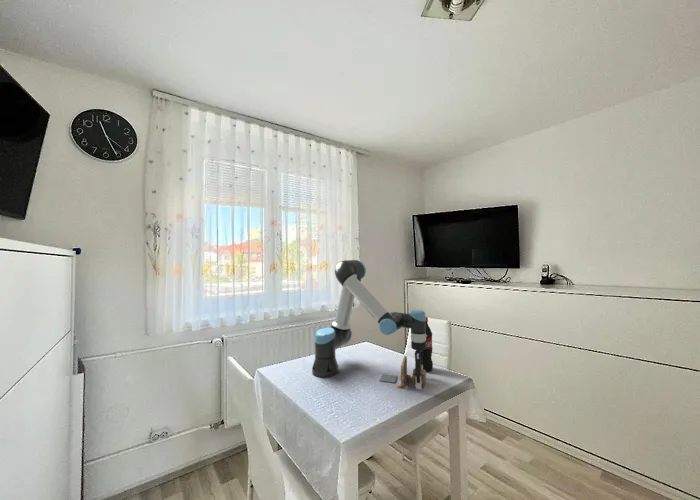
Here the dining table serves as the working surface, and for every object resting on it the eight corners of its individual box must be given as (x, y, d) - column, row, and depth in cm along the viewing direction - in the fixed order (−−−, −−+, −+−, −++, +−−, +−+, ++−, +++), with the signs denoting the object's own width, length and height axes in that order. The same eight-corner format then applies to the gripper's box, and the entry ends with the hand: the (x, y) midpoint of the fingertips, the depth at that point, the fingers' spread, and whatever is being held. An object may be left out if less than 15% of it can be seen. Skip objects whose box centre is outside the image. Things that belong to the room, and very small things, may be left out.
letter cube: (412, 385, 138) (412, 373, 139) (413, 379, 144) (413, 368, 144) (425, 386, 137) (424, 374, 137) (425, 381, 142) (425, 369, 142)
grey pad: (379, 381, 143) (379, 380, 143) (382, 374, 151) (382, 373, 151) (394, 383, 140) (394, 382, 140) (397, 376, 148) (397, 375, 148)
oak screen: (397, 387, 136) (397, 365, 136) (401, 375, 149) (400, 355, 149) (407, 388, 134) (407, 366, 135) (410, 376, 148) (410, 356, 148)
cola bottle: (429, 373, 151) (428, 319, 151) (415, 370, 156) (414, 317, 157) (435, 368, 158) (434, 316, 158) (421, 365, 163) (420, 314, 163)
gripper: (424, 349, 128) (425, 395, 127) (427, 334, 151) (428, 373, 151) (408, 348, 130) (409, 393, 130) (413, 333, 154) (414, 371, 153)
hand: (419, 382), depth 140 cm, fingers open, 13 cm apart
